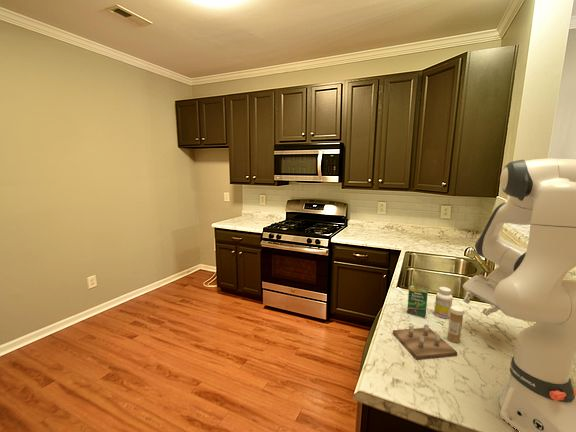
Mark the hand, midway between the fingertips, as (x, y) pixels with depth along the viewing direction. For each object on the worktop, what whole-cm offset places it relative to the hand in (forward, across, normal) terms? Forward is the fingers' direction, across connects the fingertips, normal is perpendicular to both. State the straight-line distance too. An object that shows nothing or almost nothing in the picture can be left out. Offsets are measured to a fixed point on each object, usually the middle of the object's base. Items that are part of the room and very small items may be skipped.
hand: (474, 307), depth 110 cm
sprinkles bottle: (+15, 0, +4) cm, 15 cm away
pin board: (+24, +1, -6) cm, 25 cm away
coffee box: (+17, -20, +2) cm, 26 cm away
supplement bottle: (+8, -18, +10) cm, 22 cm away
